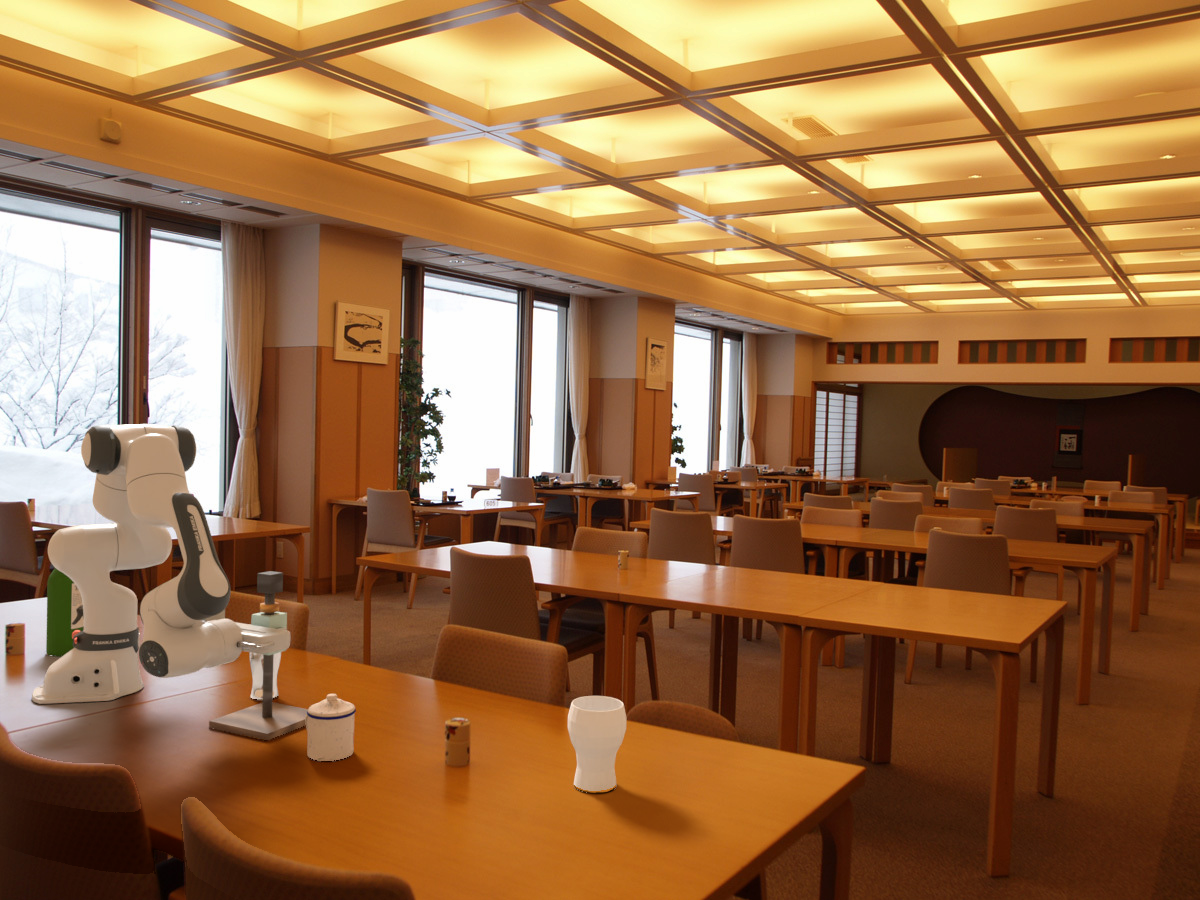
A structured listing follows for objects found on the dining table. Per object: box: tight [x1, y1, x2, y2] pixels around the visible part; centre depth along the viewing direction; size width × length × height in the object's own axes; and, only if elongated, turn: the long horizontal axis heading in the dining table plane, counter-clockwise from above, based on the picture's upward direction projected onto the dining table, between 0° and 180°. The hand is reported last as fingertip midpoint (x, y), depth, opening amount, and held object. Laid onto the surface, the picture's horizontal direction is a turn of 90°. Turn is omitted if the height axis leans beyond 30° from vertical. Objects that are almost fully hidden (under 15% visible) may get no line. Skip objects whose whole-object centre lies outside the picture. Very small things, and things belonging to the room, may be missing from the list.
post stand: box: [208, 570, 308, 741], centre depth 194 cm, size 16×16×32 cm
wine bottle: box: [45, 567, 84, 657], centre depth 246 cm, size 9×9×32 cm
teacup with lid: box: [305, 693, 357, 762], centre depth 178 cm, size 12×9×12 cm
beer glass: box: [248, 652, 282, 701], centre depth 213 cm, size 7×7×15 cm
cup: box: [567, 695, 628, 791], centre depth 166 cm, size 11×11×15 cm
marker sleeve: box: [250, 611, 288, 655], centre depth 194 cm, size 5×5×8 cm
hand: (272, 629), depth 195 cm, fingers open, 5 cm apart
